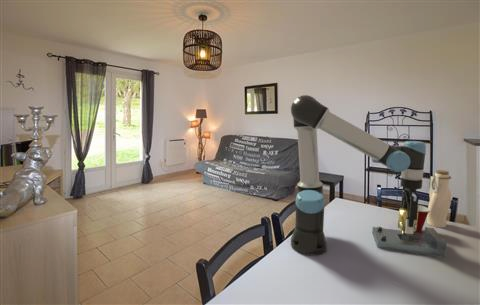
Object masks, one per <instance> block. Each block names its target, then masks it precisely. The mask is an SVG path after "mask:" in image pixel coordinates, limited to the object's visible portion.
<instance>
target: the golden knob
mask: <svg viewBox="0 0 480 305" xmlns="http://www.w3.org/2000/svg"><path fill="white" fill-rule="evenodd" d="M406 217H407V218H408V208H401V207H400V208H399V210H398V220H397V228H398V230H401V233H402V234H403V235H406V236H411V235H412V234H408V233H405V230H406ZM417 220H418V211H417ZM417 220H415V222H414V231H413V232H415V231H416V230H417Z"/></svg>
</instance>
